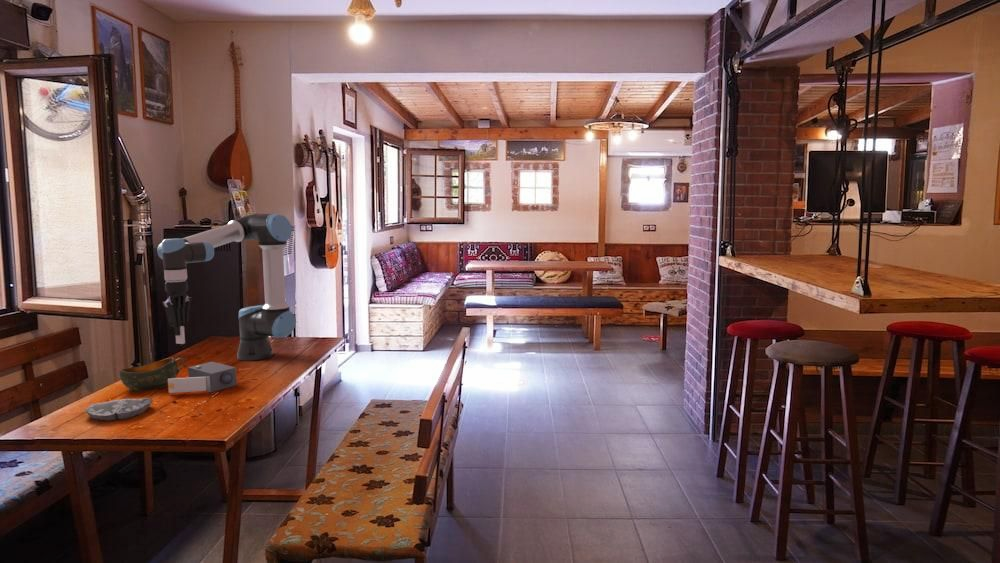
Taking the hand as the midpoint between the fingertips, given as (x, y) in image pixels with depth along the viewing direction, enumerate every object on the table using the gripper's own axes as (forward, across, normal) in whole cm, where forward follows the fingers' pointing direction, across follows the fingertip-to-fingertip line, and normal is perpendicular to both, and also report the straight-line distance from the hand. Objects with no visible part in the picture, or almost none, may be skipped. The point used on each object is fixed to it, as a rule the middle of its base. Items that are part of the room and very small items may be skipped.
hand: (180, 343), depth 234 cm
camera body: (+18, -9, +6) cm, 21 cm away
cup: (+19, -2, -15) cm, 24 cm away
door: (+18, +3, +5) cm, 19 cm away
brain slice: (+19, +26, -4) cm, 33 cm away
